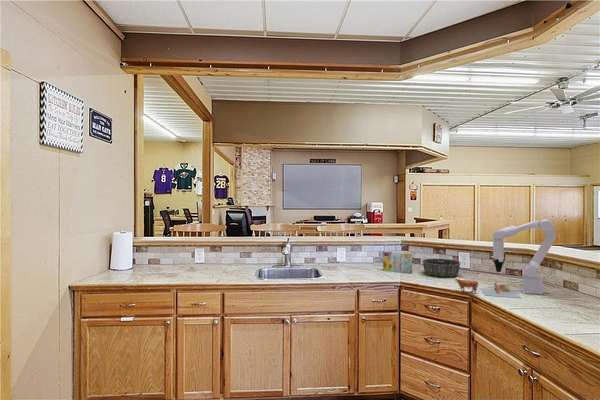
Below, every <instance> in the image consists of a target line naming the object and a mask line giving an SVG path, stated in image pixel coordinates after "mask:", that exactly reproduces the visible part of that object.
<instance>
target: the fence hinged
mask: <svg viewBox="0 0 600 400" xmlns="http://www.w3.org/2000/svg"><path fill="white" fill-rule="evenodd" d="M494 290H495V291H496V292H497V293H499V286H498V285H497V284H495V283H494Z"/></svg>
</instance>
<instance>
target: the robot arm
mask: <svg viewBox="0 0 600 400" xmlns="http://www.w3.org/2000/svg"><path fill="white" fill-rule="evenodd" d="M531 229H537V230H538V229H541V231H543V234H544V235H545V237H544V240H543V241H542V243H541V244H540V246H539V248H538V249H537V251H536V252H535V254H534V256H533V257H532V259H531V260H530V261H529V263H528V264H526V265H525V266H524V268H523V273H524V275H523V276H522V281H523V283H522V285H523V286H522V287H523V288H522V289H520V290H521V291H522V292H523V293H524V294H531V295H532V294H533V295H544V281H543V279H542V278H541V277H539V276H537V273H538V269H539V267H540V265H541V263H542V262H543V260H544V259H545V258H546V255H547V254H548V253H549V251H550V249H551V247H552V246H553V244H554V243H555V241H556V239H557V233H556V227H555V225H554V224H553V222H552V221H551V220H550V219H547V218H544V219H539V220H534V221H530V222H526V223H524V224H521V225H518V226H515V225H509V224H508V226H507V227H503V228H499V229H496V230H494V231H493V233H492V237H493V239H492V241H493V242H492V254H493V255H491V256H490V258H492V259H493V260H492V261H493V264H494V267H495V272H496V273H501V272H502V269H503V265H504V263H505V261H504V259H505V248H504V247H505V246H504V244H505V242H504V238H510V237H512V236H517V235H518V233H519V232H522V231H527V230H531Z"/></svg>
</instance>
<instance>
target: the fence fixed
mask: <svg viewBox="0 0 600 400" xmlns="http://www.w3.org/2000/svg"><path fill="white" fill-rule="evenodd" d="M495 284H497V282H494V285H495ZM497 285H498V286H499V291H502V292H509V290H510V284H500V283H498V284H497Z"/></svg>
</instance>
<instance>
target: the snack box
mask: <svg viewBox="0 0 600 400" xmlns="http://www.w3.org/2000/svg"><path fill="white" fill-rule="evenodd" d="M382 254H383V257H382V258H383V259H382V260H383V261H382V265H383V266H382V269H383V271H384V272H390V271H391V272H392V273H401V274H402V273H403V274H412V273H413V252H405V251H392V250H385V251H383V253H382ZM391 272H390V273H391Z"/></svg>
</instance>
